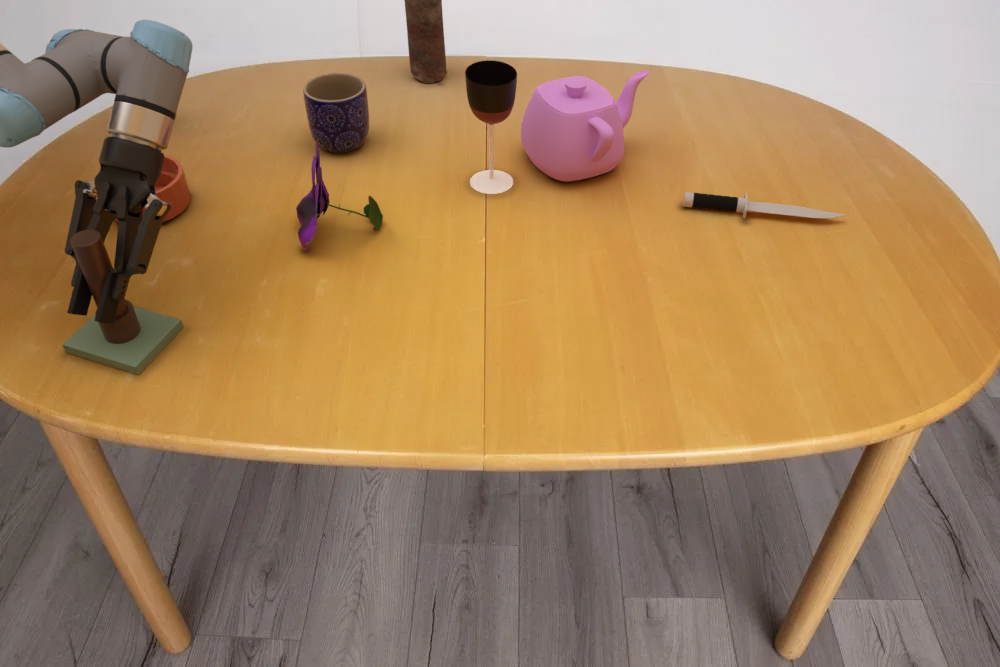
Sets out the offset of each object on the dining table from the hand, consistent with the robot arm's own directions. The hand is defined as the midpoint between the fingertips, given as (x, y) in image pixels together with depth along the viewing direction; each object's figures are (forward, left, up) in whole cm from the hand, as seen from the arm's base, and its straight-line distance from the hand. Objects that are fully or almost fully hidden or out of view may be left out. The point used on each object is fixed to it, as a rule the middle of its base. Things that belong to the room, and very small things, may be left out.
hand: (90, 317), depth 113 cm
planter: (+3, +61, -7) cm, 61 cm away
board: (0, +4, -7) cm, 8 cm away
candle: (+7, +91, -7) cm, 91 cm away
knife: (+78, +66, -7) cm, 102 cm away
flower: (+16, +37, -7) cm, 41 cm away
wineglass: (+33, +59, -7) cm, 68 cm away
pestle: (0, +4, -6) cm, 7 cm away
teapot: (+44, +71, -7) cm, 84 cm away
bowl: (-17, +32, -7) cm, 37 cm away
